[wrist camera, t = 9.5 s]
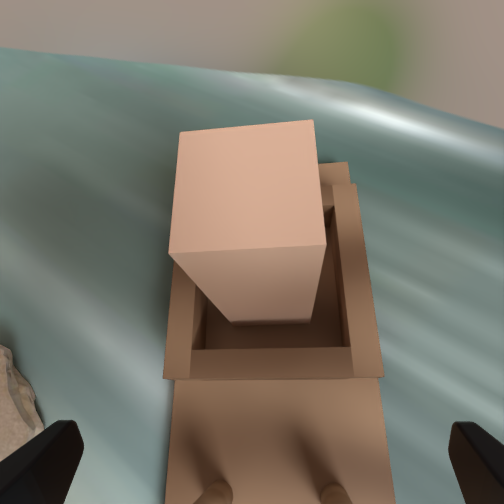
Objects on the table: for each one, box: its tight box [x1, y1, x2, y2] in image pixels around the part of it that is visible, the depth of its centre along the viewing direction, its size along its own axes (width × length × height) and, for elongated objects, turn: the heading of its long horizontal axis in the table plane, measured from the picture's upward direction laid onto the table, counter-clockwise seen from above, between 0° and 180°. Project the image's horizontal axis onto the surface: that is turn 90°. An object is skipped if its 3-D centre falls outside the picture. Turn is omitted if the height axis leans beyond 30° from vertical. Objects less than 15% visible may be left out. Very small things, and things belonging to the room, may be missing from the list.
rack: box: [163, 162, 396, 504], centre depth 17 cm, size 20×10×4 cm, turn 0°
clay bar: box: [168, 120, 327, 326], centre depth 14 cm, size 4×4×10 cm
